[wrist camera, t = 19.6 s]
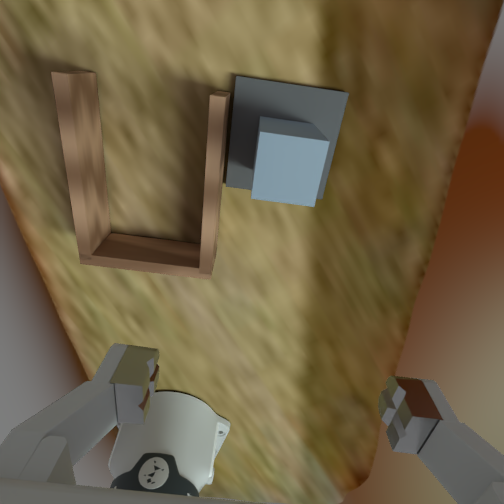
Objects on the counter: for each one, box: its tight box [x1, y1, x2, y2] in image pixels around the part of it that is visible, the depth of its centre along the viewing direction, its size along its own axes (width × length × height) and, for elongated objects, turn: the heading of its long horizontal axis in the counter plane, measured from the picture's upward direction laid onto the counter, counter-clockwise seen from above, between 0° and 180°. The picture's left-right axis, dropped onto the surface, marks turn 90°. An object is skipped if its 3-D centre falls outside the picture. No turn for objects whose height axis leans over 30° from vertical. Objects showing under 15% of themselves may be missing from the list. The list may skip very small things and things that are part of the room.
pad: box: [226, 76, 349, 199], centre depth 31 cm, size 10×10×1 cm
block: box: [251, 116, 330, 207], centre depth 28 cm, size 5×5×8 cm
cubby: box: [51, 71, 230, 279], centre depth 31 cm, size 17×13×5 cm
